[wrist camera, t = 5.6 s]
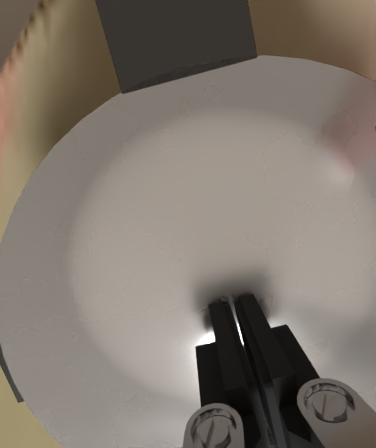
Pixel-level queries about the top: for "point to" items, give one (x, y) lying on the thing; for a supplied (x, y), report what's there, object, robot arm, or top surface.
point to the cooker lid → (190, 226)
